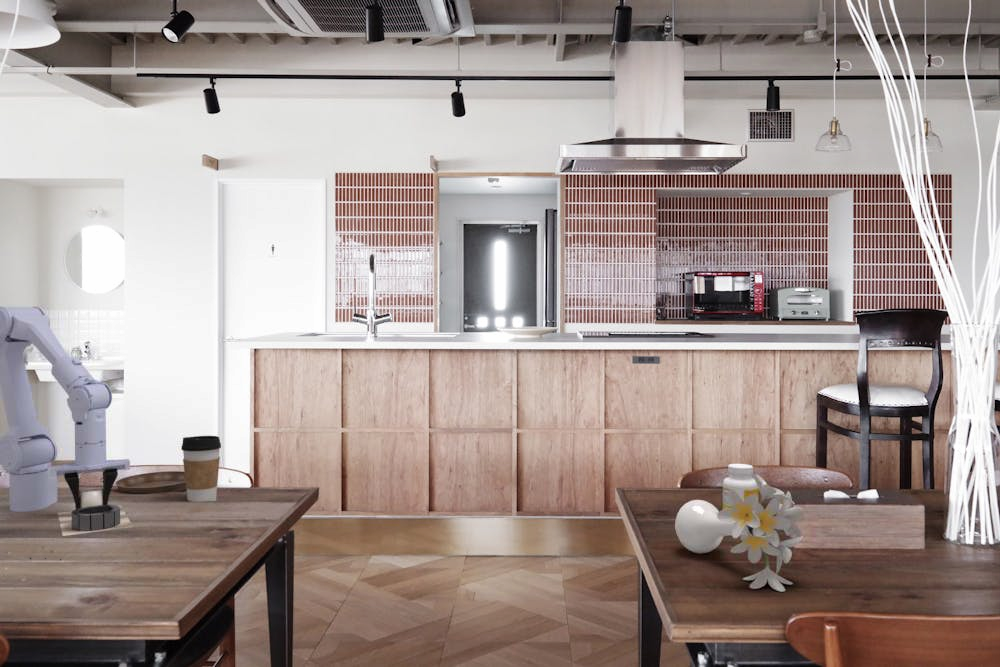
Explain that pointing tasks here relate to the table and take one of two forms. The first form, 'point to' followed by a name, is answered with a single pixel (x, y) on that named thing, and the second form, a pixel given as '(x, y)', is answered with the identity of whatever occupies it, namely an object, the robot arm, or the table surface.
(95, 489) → the white cylinder
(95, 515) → the dark grey segmented ring
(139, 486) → the plant saucer
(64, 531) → the mount plate
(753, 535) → the flower vase
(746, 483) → the supplement bottle
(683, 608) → the table surface
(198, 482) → the coffee cup
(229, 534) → the table surface
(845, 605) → the table surface
